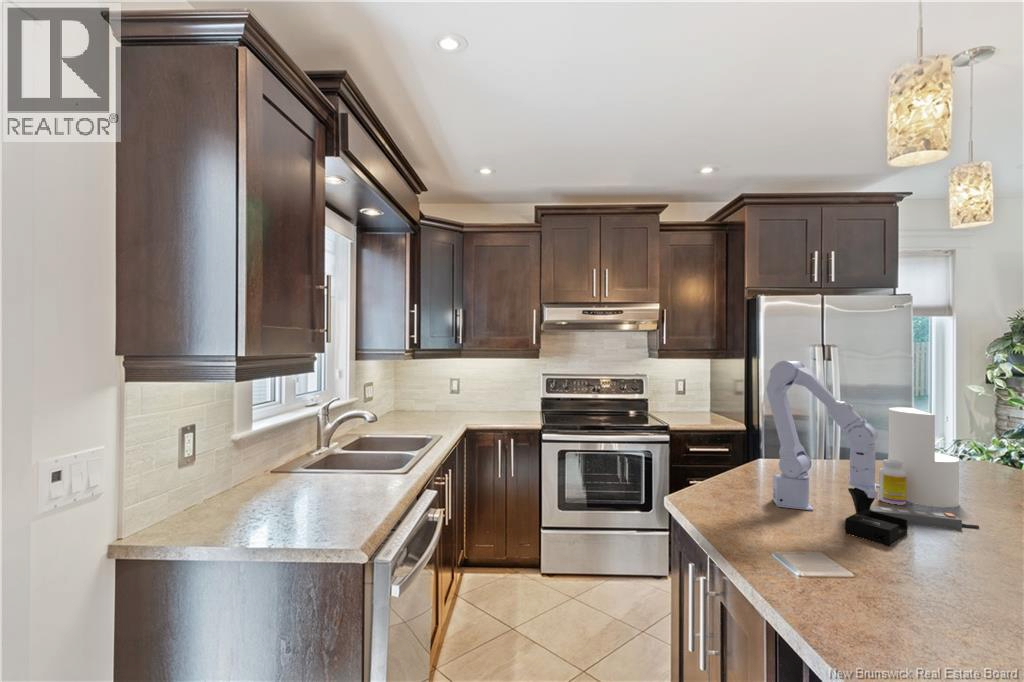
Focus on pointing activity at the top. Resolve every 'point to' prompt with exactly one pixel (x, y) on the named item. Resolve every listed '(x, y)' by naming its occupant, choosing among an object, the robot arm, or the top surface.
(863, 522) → the battery charger
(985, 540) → the top surface
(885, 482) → the supplement bottle
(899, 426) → the white stepped block
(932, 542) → the top surface
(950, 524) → the power strip
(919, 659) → the top surface
